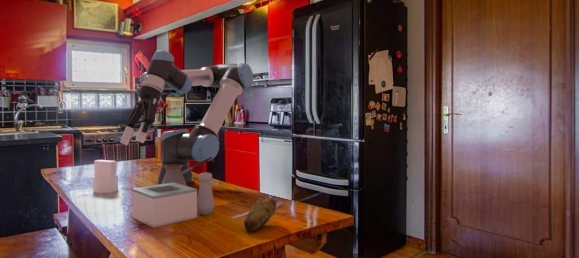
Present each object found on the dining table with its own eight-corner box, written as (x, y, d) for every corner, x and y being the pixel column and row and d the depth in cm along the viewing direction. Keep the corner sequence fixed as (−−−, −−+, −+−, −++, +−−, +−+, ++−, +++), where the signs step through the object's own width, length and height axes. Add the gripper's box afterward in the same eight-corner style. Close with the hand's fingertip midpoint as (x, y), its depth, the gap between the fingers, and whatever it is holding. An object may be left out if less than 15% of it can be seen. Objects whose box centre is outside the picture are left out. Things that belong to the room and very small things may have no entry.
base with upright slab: (88, 191, 155) (87, 161, 154) (106, 187, 164) (105, 158, 163) (105, 193, 152) (104, 163, 151) (123, 189, 160) (122, 160, 159)
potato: (232, 229, 111) (232, 201, 110) (265, 219, 120) (265, 193, 120) (251, 236, 105) (251, 206, 104) (285, 225, 114) (285, 198, 114)
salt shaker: (210, 216, 123) (210, 175, 122) (193, 214, 124) (193, 174, 124) (217, 211, 129) (217, 171, 128) (201, 210, 130) (200, 171, 129)
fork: (220, 220, 121) (220, 214, 120) (277, 206, 138) (277, 200, 138) (226, 222, 118) (226, 216, 118) (284, 207, 136) (284, 202, 136)
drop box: (174, 209, 131) (174, 182, 130) (197, 218, 121) (196, 189, 120) (132, 217, 121) (132, 188, 120) (153, 227, 111) (153, 196, 111)
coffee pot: (163, 207, 133) (163, 163, 132) (152, 200, 142) (152, 159, 142) (220, 198, 146) (220, 158, 145) (207, 192, 155) (206, 155, 154)
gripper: (128, 90, 152) (108, 141, 145) (157, 78, 134) (136, 136, 127) (146, 98, 157) (127, 148, 150) (176, 88, 139) (156, 144, 132)
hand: (131, 142), depth 138 cm, fingers open, 13 cm apart
